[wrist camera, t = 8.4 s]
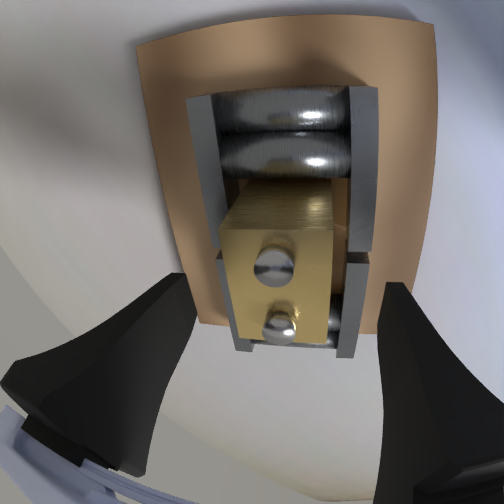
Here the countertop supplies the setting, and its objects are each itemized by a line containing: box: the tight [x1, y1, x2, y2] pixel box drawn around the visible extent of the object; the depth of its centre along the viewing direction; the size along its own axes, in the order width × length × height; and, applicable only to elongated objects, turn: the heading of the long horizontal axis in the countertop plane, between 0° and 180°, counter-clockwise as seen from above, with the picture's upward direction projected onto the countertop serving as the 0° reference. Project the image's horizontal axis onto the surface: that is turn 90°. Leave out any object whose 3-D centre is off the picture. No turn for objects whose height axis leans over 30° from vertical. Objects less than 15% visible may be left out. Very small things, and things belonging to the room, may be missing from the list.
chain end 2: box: [215, 239, 370, 358], centre depth 16 cm, size 7×7×2 cm
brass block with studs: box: [218, 178, 333, 345], centre depth 12 cm, size 4×5×6 cm
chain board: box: [136, 14, 438, 334], centre depth 14 cm, size 13×17×1 cm
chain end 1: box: [186, 85, 379, 252], centre depth 12 cm, size 7×7×2 cm
